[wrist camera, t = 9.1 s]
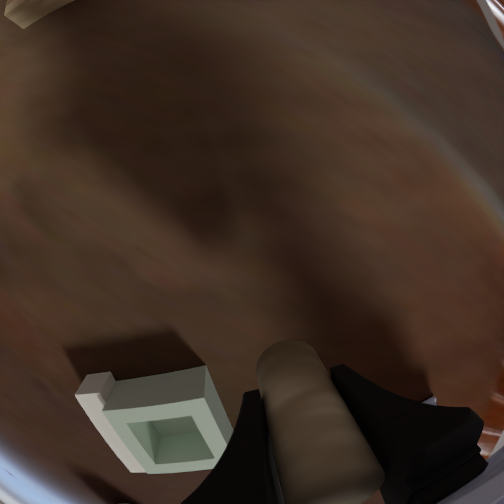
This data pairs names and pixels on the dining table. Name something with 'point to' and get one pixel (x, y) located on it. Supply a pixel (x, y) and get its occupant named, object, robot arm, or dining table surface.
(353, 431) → the dowel
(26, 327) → the dining table surface
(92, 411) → the backstop wall
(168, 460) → the socket block
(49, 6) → the shallow open wooden box
